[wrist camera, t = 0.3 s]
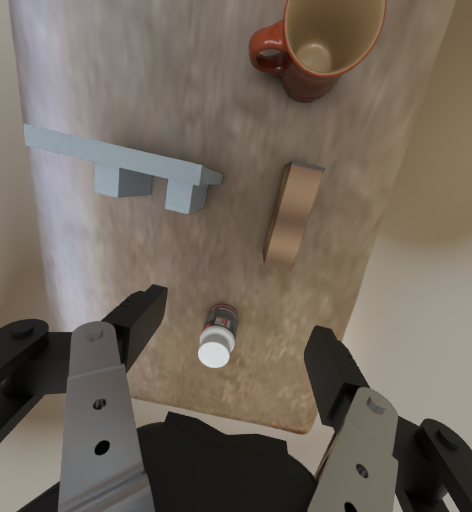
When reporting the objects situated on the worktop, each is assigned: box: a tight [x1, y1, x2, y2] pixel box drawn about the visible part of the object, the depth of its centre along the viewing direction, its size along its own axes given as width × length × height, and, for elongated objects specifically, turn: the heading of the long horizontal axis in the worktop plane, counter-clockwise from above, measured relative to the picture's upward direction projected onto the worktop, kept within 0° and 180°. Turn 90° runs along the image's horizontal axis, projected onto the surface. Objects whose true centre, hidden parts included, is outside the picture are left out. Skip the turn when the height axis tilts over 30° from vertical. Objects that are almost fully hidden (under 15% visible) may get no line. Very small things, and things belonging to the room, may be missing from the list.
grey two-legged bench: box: [24, 124, 223, 214], centre depth 28 cm, size 6×16×15 cm, turn 77°
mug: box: [249, 0, 386, 102], centre depth 25 cm, size 12×9×10 cm
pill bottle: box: [198, 305, 238, 368], centre depth 37 cm, size 6×6×10 cm
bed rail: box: [263, 161, 325, 271], centre depth 32 cm, size 14×4×6 cm, turn 167°
